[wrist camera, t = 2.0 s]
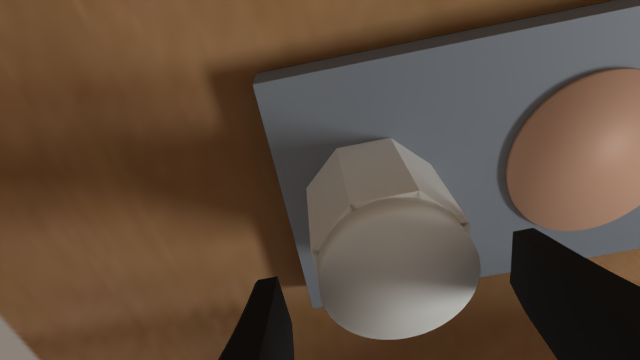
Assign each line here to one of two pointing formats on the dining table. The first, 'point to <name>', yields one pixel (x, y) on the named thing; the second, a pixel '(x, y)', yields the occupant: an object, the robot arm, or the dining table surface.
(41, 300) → the dining table surface
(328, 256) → the cap
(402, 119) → the post board
